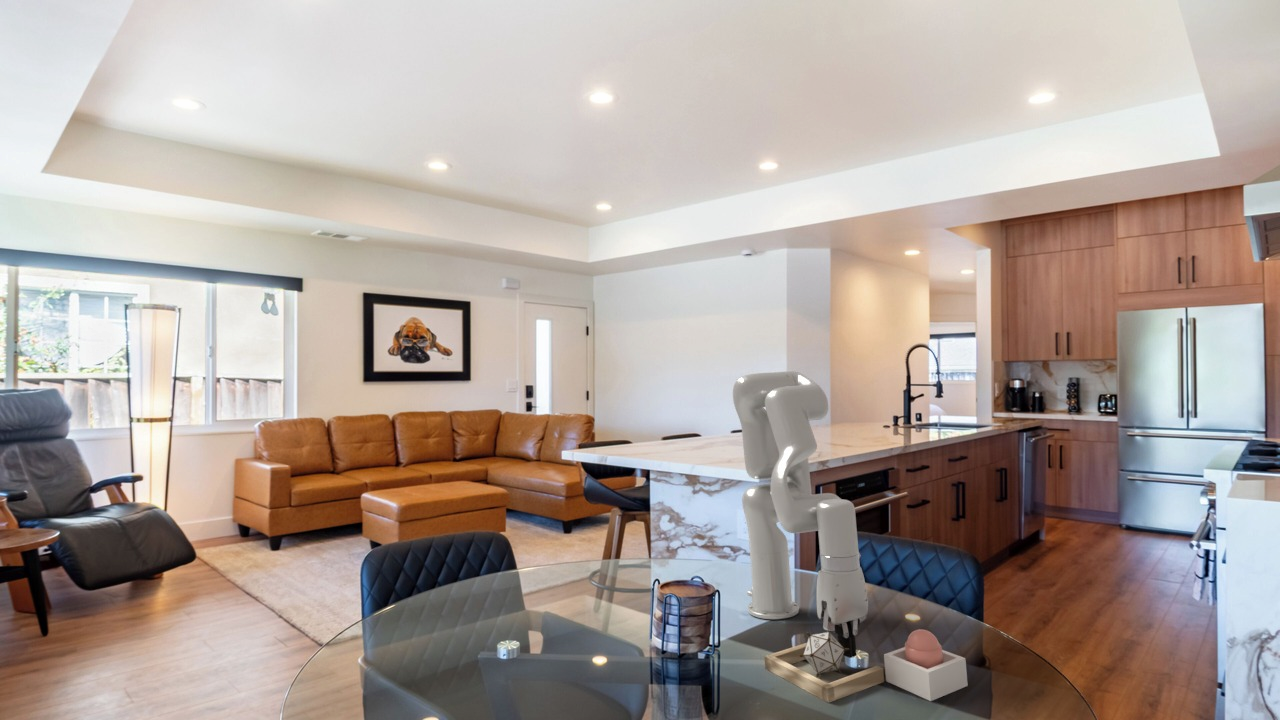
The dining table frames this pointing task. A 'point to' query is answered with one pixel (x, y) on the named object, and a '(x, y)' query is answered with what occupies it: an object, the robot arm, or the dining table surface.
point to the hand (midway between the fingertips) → (847, 654)
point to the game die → (823, 652)
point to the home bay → (815, 686)
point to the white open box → (926, 674)
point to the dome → (923, 649)
